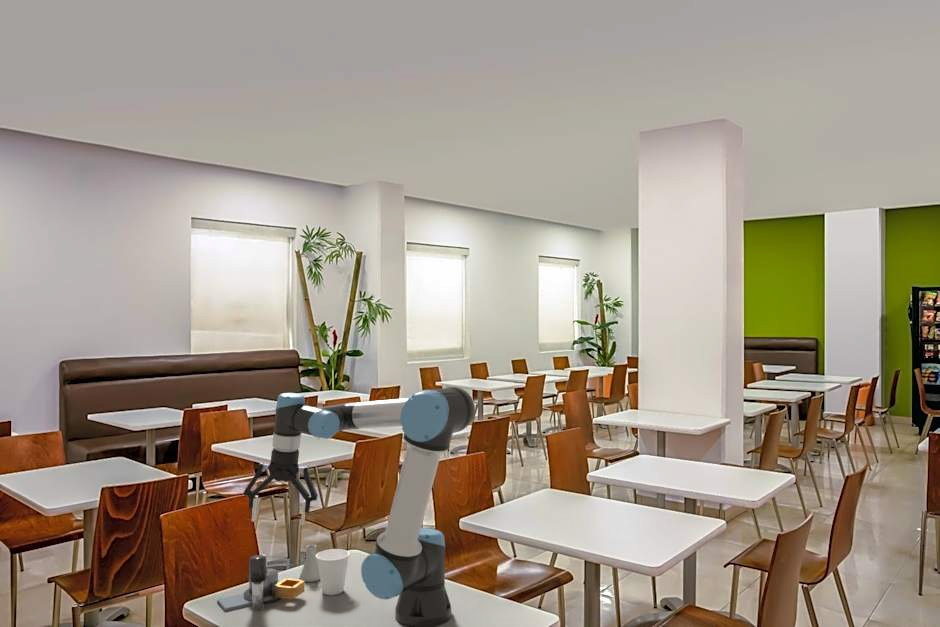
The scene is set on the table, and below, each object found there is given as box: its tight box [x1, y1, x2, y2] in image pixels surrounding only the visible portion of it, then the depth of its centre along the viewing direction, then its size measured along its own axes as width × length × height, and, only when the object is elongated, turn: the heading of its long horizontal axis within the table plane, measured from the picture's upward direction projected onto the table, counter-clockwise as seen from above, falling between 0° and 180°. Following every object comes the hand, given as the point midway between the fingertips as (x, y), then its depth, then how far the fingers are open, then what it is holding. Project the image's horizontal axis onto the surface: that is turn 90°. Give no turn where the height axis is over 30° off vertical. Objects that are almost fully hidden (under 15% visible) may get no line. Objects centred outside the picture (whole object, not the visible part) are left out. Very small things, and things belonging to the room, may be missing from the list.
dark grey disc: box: [243, 588, 282, 605], centre depth 204 cm, size 11×11×2 cm
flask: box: [298, 544, 321, 583], centre depth 219 cm, size 7×7×10 cm
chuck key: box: [248, 554, 266, 611], centre depth 196 cm, size 4×4×14 cm
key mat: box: [216, 592, 252, 612], centre depth 199 cm, size 8×8×1 cm
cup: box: [316, 548, 351, 596], centre depth 208 cm, size 10×10×11 cm
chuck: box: [248, 553, 305, 600], centre depth 203 cm, size 16×8×10 cm, turn 74°
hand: (278, 521), depth 200 cm, fingers open, 13 cm apart
